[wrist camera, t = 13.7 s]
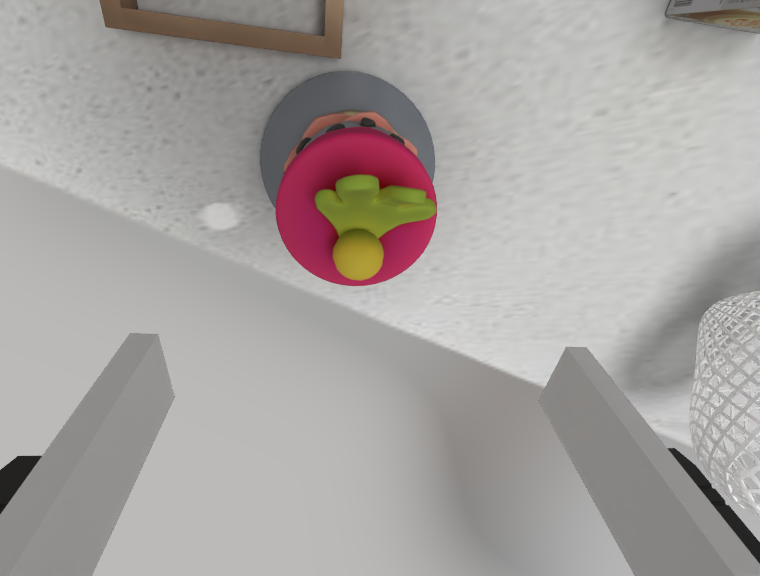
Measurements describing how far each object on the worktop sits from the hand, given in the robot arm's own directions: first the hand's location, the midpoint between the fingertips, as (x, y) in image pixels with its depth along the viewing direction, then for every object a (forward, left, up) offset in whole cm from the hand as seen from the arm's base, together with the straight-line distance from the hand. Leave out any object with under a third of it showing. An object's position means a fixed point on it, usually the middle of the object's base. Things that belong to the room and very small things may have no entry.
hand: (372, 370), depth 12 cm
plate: (0, 0, -25) cm, 25 cm away
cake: (0, 0, -24) cm, 24 cm away
